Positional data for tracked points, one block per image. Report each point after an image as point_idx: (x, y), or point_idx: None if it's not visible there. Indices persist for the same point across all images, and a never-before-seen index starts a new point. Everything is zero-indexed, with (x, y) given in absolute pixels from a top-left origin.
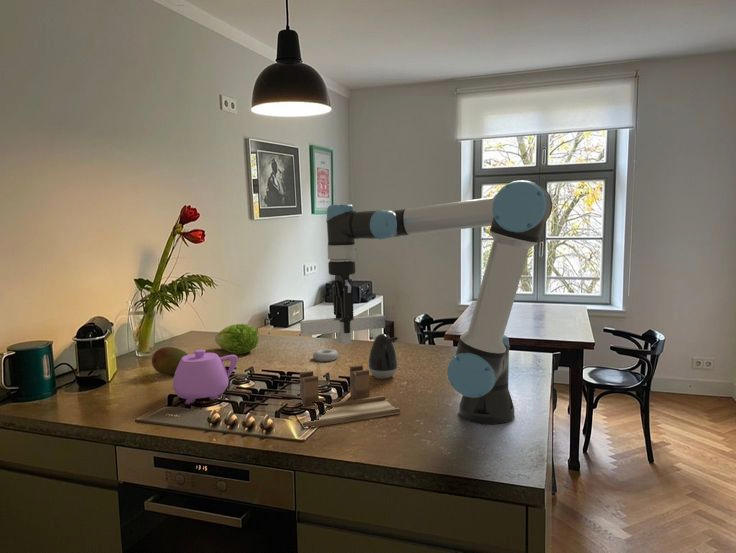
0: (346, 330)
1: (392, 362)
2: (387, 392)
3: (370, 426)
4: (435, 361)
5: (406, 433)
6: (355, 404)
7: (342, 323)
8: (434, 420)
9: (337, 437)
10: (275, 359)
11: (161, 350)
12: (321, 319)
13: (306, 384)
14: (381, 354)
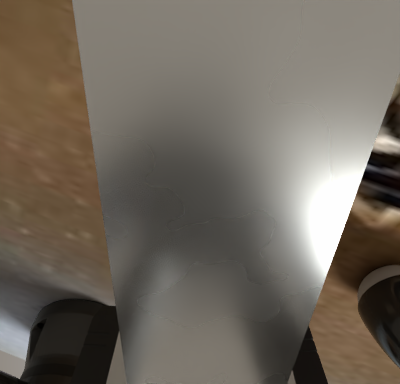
0: (90, 333)
1: (367, 324)
2: None
3: (75, 136)
4: (390, 380)
5: (19, 190)
6: None
7: (111, 378)
8: (78, 259)
9: (15, 25)
10: None
11: None
12: (292, 278)
13: None
14: (397, 328)
